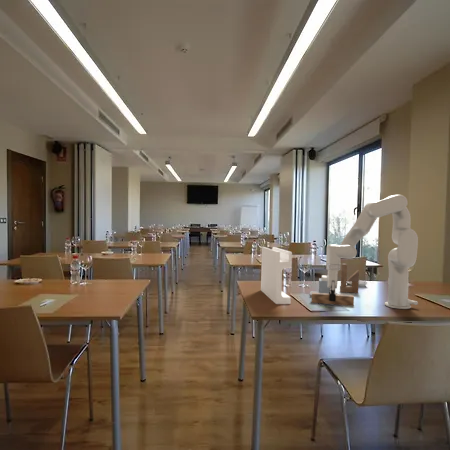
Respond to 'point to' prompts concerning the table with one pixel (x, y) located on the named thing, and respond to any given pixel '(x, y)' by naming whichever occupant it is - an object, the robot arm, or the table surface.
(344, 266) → the wooden angled stand
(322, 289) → the stand
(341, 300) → the walnut beam
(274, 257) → the block
